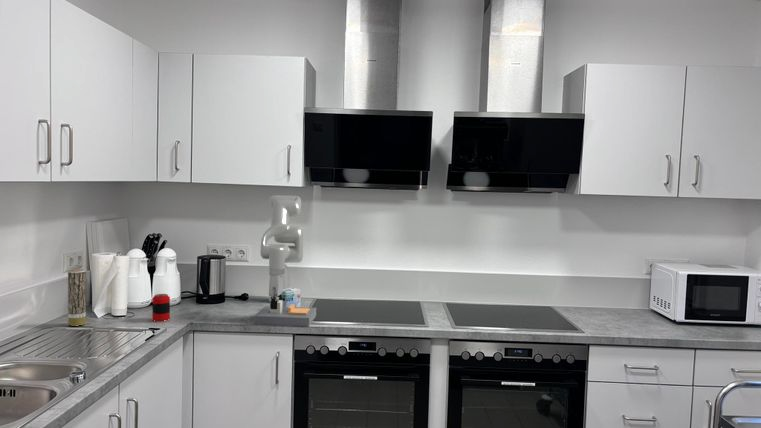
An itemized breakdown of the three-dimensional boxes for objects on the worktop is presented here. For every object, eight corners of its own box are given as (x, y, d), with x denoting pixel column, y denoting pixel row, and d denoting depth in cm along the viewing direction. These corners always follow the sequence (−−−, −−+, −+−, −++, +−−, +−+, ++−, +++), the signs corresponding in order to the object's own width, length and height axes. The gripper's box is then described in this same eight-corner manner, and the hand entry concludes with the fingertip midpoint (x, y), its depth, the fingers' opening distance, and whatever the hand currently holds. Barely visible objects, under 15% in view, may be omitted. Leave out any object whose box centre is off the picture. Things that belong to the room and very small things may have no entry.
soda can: (152, 322, 241) (152, 297, 240) (152, 318, 248) (152, 293, 247) (169, 321, 244) (169, 296, 243) (169, 317, 251) (169, 293, 250)
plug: (272, 318, 255) (272, 296, 254) (282, 318, 255) (282, 296, 254) (269, 320, 250) (270, 298, 249) (279, 321, 250) (280, 298, 249)
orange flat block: (291, 309, 256) (291, 303, 256) (309, 310, 256) (309, 304, 256) (287, 313, 247) (287, 308, 247) (306, 314, 247) (306, 308, 247)
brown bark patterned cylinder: (66, 327, 229) (65, 271, 228) (70, 323, 236) (70, 269, 234) (83, 327, 231) (83, 271, 229) (87, 323, 237) (87, 269, 236)
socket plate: (265, 313, 263) (265, 305, 263) (316, 315, 262) (316, 307, 261) (254, 324, 243) (254, 315, 243) (308, 326, 242) (309, 318, 241)
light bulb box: (286, 312, 266) (286, 292, 265) (277, 310, 270) (277, 290, 269) (301, 309, 275) (301, 289, 274) (292, 307, 279) (292, 287, 278)
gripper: (273, 268, 260) (273, 302, 261) (264, 274, 243) (263, 310, 244) (288, 269, 260) (287, 303, 261) (280, 275, 242) (279, 311, 243)
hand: (276, 306), depth 252 cm, fingers open, 9 cm apart
